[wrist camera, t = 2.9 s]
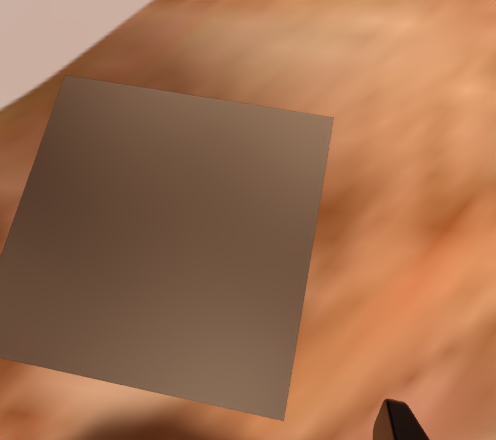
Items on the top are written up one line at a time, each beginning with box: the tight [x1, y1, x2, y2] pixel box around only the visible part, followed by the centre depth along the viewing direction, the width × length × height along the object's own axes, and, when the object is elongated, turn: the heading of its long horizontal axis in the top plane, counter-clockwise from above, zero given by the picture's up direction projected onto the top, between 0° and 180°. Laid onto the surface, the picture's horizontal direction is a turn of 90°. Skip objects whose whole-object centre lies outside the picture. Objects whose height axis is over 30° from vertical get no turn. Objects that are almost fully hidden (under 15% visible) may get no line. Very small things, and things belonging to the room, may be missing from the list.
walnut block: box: [0, 75, 334, 421], centre depth 13 cm, size 5×5×13 cm
